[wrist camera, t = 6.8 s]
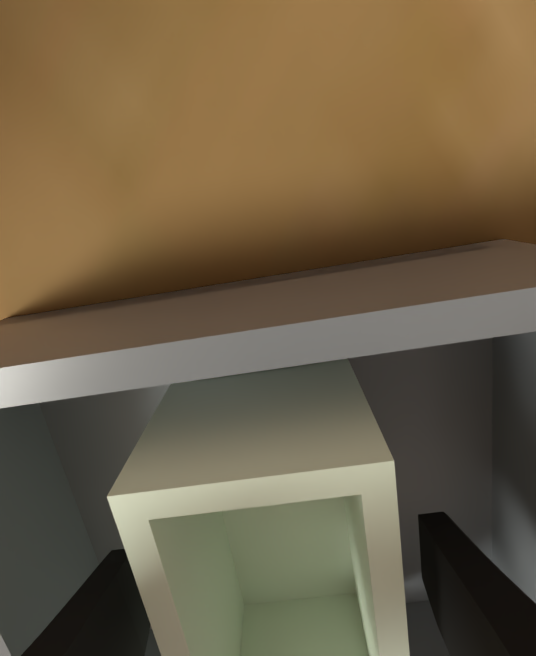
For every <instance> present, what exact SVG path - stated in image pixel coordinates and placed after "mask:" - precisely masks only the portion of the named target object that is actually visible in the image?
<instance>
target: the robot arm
mask: <svg viewBox="0 0 536 656" xmlns="http://www.w3.org/2000/svg"><path fill="white" fill-rule="evenodd" d="M418 525H419V541H420V557H421V573H422V580H423V583H424V586H425V589H426V592H427V596H428V599H429V602H430V605H431V608H432V611H433V614H434V617H435V620H436V623H437V626H438V628H439V631H440V633H441V635H442V638H443V640H444V642H445V645H446V647H447V649H448V652H449V654H450V656H536V603H535V602H534V601H533V600H532V599H530V598H529V597H528V596H527V595H526V594H525V593H524V592H523V591H522V590H521V589H520V588H519V587H518V586H517V585H516V584H515V583H514V582H513V581H511V580H510V579H509V578H508V577H507V576H506V575H505V574H504V573H503V572H502V571H501V570H500V569H499V568H498V567H497V566H496V565H495V564H494V563H493V562H492V561H491V560H490V559H489V558H488V557H487V556H486V555H485V554H484V553H483V552H482V551H481V550H480V549H479V548H478V547H477V546H476V545H475V544H474V543H473V542H472V541H471V539H470V538H469V537H468V536H467V535H466V534H465V533H464V532H463V531H462V530H461V529H460V528H459V527H458V526H457V524H456V523H455V522H454V521H453V520H452V519H451V518H450V517H449V516H448V515H447V514H446V513H445V512H434V513H425V514H418ZM150 626H151V624H150V621H149V618H148V616H147V613H146V610H145V607H144V604H143V601H142V598H141V595H140V592H139V589H138V586H137V583H136V581H135V578H134V575H133V572H132V569H131V566H130V563H129V560H128V557H127V554H126V551H125V549H117V550H111V551H110V553H109V554H108V555H107V556H106V557H105V558H104V559H103V561H102V562H101V563H100V564H99V565H98V567H97V568H96V569H95V570H94V571H93V572H92V574H91V575H90V576H89V577H88V578H87V580H86V581H85V582H84V583H83V584H82V586H81V587H80V588H79V589H78V590H77V592H76V593H75V594H74V595H73V596H72V598H71V599H70V600H69V601H68V602H67V603H66V605H65V606H64V607H63V608H62V609H61V611H60V612H59V613H58V614H57V615H56V616H55V618H54V619H53V620H52V621H51V622H50V623H49V625H48V626H47V627H46V628H45V629H44V630H43V632H42V633H41V634H40V635H39V636H38V637H37V638H36V639H35V640H34V642H33V643H32V644H31V645H30V646H29V647H28V648H27V649H26V650H25V651H24V653H23V654H22V655H21V656H145V651H146V646H147V641H148V636H149V631H150Z"/></svg>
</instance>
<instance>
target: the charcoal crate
mask: <svg viewBox="0 0 536 656" xmlns="http://www.w3.org/2000/svg"><path fill="white" fill-rule="evenodd" d="M347 358H348V360H349V362H350V364H351V367H352V369H353V371H354V373H355V375H356V378H357V380H358V382H359V384H360V386H361V389H362V391H363V393H364V395H365V397H366V400H367V402H368V404H369V406H370V408H371V411H372V413H373V415H374V417H375V419H376V422H377V424H378V426H379V428H380V430H381V433H382V435H383V437H384V439H385V441H386V444H387V446H388V448H389V450H390V452H391V455H392V457H393V459H394V464H395V476H396V489H397V502H398V514H399V527H400V540H401V552H402V565H403V578H404V590H405V603H406V615H407V628H408V641H409V653H410V656H450V654H449V652H448V649H447V647H446V645H445V642H444V640H443V638H442V635H441V633H440V631H439V628H438V626H437V623H436V620H435V617H434V614H433V611H432V608H431V605H430V602H429V599H428V596H427V592H426V589H425V586H424V583H423V580H422V573H421V557H420V541H419V525H418V514H425V513H434V512H445V513H446V514H447V515H448V516H449V517H450V518H451V519H452V520H453V521H454V522H455V523H456V524H457V526H458V527H459V528H460V529H461V530H462V531H463V532H464V533H465V534H466V535H467V536H468V537H469V538H470V539H471V541H472V542H473V543H474V544H475V545H476V546H477V547H478V548H479V549H480V550H481V551H482V552H483V553H484V554H485V555H486V556H487V557H488V558H489V559H490V560H491V561H492V562H493V563H494V564H495V565H496V566H497V567H498V568H499V569H500V570H501V571H502V572H503V573H504V574H505V575H506V576H507V577H508V578H509V579H510V580H511V581H513V582H514V583H515V584H516V585H517V586H518V587H519V588H520V589H521V590H522V591H523V592H524V593H525V594H526V595H527V596H528V597H529V598H530V599H532V600H533V601H534V602H535V603H536V244H530V243H524V242H519V241H513V240H507V239H500V240H494V241H488V242H482V243H475V244H469V245H463V246H456V247H450V248H444V249H438V250H431V251H425V252H419V253H412V254H406V255H400V256H394V257H387V258H381V259H375V260H368V261H362V262H356V263H350V264H343V265H337V266H331V267H324V268H318V269H312V270H306V271H299V272H293V273H287V274H281V275H274V276H268V277H262V278H255V279H249V280H243V281H237V282H230V283H224V284H218V285H211V286H205V287H199V288H193V289H186V290H180V291H174V292H167V293H161V294H155V295H149V296H142V297H136V298H130V299H123V300H117V301H111V302H105V303H98V304H92V305H86V306H80V307H73V308H67V309H61V310H54V311H48V312H42V313H36V314H29V315H23V316H17V317H10V318H5V319H3V320H0V656H21V655H22V654H23V653H24V651H25V650H26V649H27V648H28V647H29V646H30V645H31V644H32V643H33V642H34V640H35V639H36V638H37V637H38V636H39V635H40V634H41V633H42V632H43V630H44V629H45V628H46V627H47V626H48V625H49V623H50V622H51V621H52V620H53V619H54V618H55V616H56V615H57V614H58V613H59V612H60V611H61V609H62V608H63V607H64V606H65V605H66V603H67V602H68V601H69V600H70V599H71V598H72V596H73V595H74V594H75V593H76V592H77V590H78V589H79V588H80V587H81V586H82V584H83V583H84V582H85V581H86V580H87V578H88V577H89V576H90V575H91V574H92V572H93V571H94V570H95V569H96V568H97V567H98V565H99V564H100V563H101V562H102V561H103V559H104V558H105V557H106V556H107V555H108V554H109V553H110V551H111V550H117V549H124V546H123V543H122V540H121V537H120V534H119V531H118V528H117V525H116V522H115V519H114V516H113V514H112V511H111V508H110V505H109V502H108V499H107V495H108V493H109V492H110V490H111V488H112V486H113V485H114V483H115V481H116V479H117V478H118V476H119V474H120V472H121V471H122V469H123V467H124V465H125V463H126V462H127V460H128V458H129V456H130V455H131V453H132V451H133V449H134V448H135V446H136V444H137V442H138V441H139V439H140V437H141V435H142V433H143V432H144V430H145V428H146V426H147V425H148V423H149V421H150V419H151V418H152V416H153V414H154V412H155V411H156V409H157V407H158V405H159V404H160V402H161V400H162V398H163V396H164V395H165V393H166V391H167V389H168V388H169V386H170V384H173V383H180V382H187V381H194V380H201V379H208V378H215V377H222V376H229V375H236V374H243V373H250V372H257V371H264V370H271V369H278V368H285V367H292V366H299V365H306V364H313V363H319V362H326V361H333V360H340V359H347ZM145 656H161V653H160V650H159V648H158V645H157V642H156V639H155V636H154V633H153V630H152V627H151V626H150V631H149V636H148V641H147V646H146V651H145Z"/></svg>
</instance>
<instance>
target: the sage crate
mask: <svg viewBox="0 0 536 656" xmlns="http://www.w3.org/2000/svg"><path fill="white" fill-rule="evenodd" d="M107 499H108V502H109V505H110V508H111V511H112V514H113V516H114V519H115V522H116V525H117V528H118V531H119V534H120V537H121V540H122V543H123V546H124V549H125V551H126V554H127V557H128V560H129V563H130V566H131V569H132V572H133V575H134V578H135V581H136V583H137V586H138V589H139V592H140V595H141V598H142V601H143V604H144V607H145V610H146V613H147V616H148V618H149V621H150V624H151V627H152V630H153V633H154V636H155V639H156V642H157V645H158V648H159V650H160V653H161V656H410V653H409V641H408V628H407V615H406V603H405V590H404V578H403V565H402V552H401V540H400V527H399V514H398V502H397V489H396V476H395V464H394V459H393V457H392V455H391V452H390V450H389V448H388V446H387V444H386V441H385V439H384V437H383V435H382V433H381V430H380V428H379V426H378V424H377V422H376V419H375V417H374V415H373V413H372V411H371V408H370V406H369V404H368V402H367V400H366V397H365V395H364V393H363V391H362V389H361V386H360V384H359V382H358V380H357V378H356V375H355V373H354V371H353V369H352V367H351V364H350V362H349V360H348V358H347V359H340V360H333V361H326V362H319V363H313V364H306V365H299V366H292V367H285V368H278V369H271V370H264V371H257V372H250V373H243V374H236V375H229V376H222V377H215V378H208V379H201V380H194V381H187V382H180V383H173V384H170V386H169V388H168V389H167V391H166V393H165V395H164V396H163V398H162V400H161V402H160V404H159V405H158V407H157V409H156V411H155V412H154V414H153V416H152V418H151V419H150V421H149V423H148V425H147V426H146V428H145V430H144V432H143V433H142V435H141V437H140V439H139V441H138V442H137V444H136V446H135V448H134V449H133V451H132V453H131V455H130V456H129V458H128V460H127V462H126V463H125V465H124V467H123V469H122V471H121V472H120V474H119V476H118V478H117V479H116V481H115V483H114V485H113V486H112V488H111V490H110V492H109V493H108V495H107Z"/></svg>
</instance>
